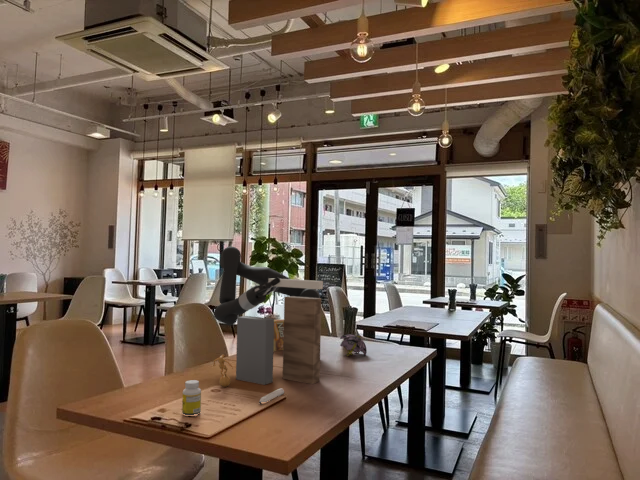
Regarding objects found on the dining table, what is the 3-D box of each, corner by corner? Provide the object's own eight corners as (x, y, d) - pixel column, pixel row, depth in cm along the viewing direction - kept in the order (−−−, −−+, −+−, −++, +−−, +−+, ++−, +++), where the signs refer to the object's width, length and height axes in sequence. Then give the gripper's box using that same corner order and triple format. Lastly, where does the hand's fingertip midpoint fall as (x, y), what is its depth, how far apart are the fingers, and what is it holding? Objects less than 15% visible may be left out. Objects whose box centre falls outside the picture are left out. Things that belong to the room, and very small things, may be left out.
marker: (257, 409, 156) (280, 395, 171) (262, 406, 155) (285, 393, 170) (254, 401, 156) (277, 388, 171) (259, 399, 156) (281, 386, 171)
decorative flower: (375, 337, 236) (347, 328, 233) (371, 361, 231) (342, 352, 229) (364, 340, 249) (337, 332, 246) (360, 363, 245) (332, 355, 242)
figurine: (237, 386, 178) (238, 353, 178) (228, 390, 172) (228, 356, 173) (218, 384, 181) (219, 351, 182) (208, 387, 176) (209, 354, 176)
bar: (272, 285, 201) (272, 278, 201) (322, 288, 188) (322, 281, 188) (268, 285, 198) (268, 278, 198) (318, 289, 186) (318, 281, 186)
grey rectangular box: (244, 376, 193) (245, 315, 194) (272, 382, 186) (274, 318, 187) (235, 379, 189) (237, 317, 190) (264, 384, 182) (266, 320, 182)
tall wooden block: (289, 376, 196) (291, 296, 197) (319, 381, 188) (321, 298, 189) (282, 378, 191) (284, 296, 192) (312, 384, 184) (314, 299, 185)
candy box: (282, 348, 254) (283, 319, 254) (287, 349, 250) (288, 319, 251) (268, 350, 248) (269, 320, 249) (273, 351, 245) (273, 321, 245)
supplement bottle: (183, 411, 149) (184, 379, 149) (201, 411, 149) (202, 379, 150) (180, 417, 143) (181, 384, 144) (199, 417, 144) (200, 384, 144)
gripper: (237, 290, 199) (267, 271, 192) (259, 289, 211) (288, 270, 204) (244, 307, 197) (274, 288, 189) (265, 304, 209) (295, 286, 201)
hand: (281, 279), depth 197 cm, fingers closed on bar, 3 cm apart
